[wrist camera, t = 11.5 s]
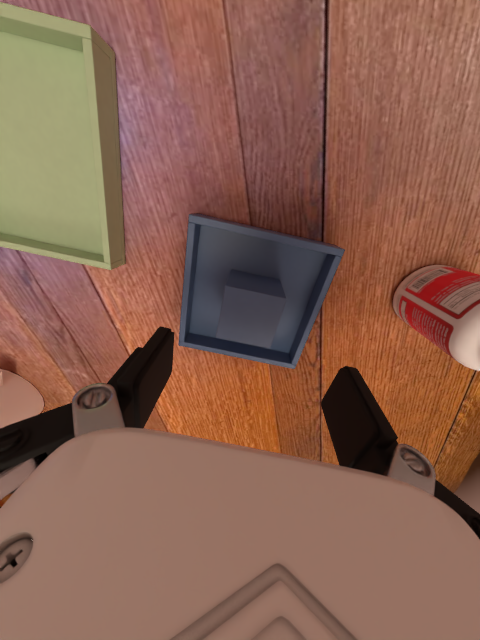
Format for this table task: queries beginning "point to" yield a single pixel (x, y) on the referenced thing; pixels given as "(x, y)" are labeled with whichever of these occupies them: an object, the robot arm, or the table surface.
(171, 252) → the table surface
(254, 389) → the table surface
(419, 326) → the pill bottle
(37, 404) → the mug
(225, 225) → the block tray
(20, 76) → the tray
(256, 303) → the block
